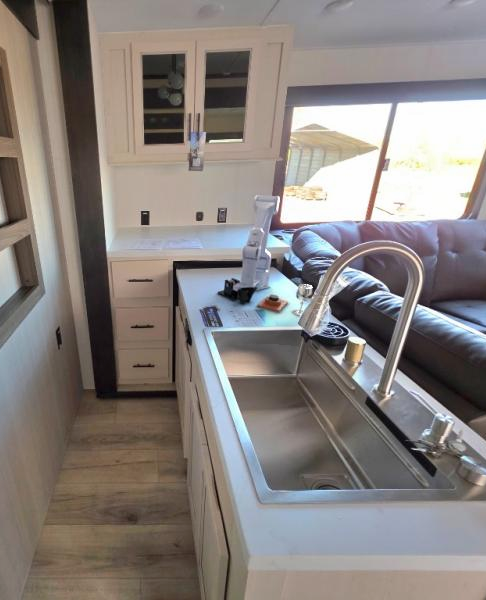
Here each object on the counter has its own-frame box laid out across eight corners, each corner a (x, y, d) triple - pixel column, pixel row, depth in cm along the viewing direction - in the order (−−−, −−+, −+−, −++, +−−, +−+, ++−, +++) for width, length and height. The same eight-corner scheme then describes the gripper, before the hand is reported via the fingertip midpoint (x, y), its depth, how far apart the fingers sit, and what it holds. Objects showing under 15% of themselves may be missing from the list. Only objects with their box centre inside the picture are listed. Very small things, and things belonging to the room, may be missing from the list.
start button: (270, 297, 138) (271, 293, 137) (279, 299, 136) (279, 296, 135) (267, 300, 135) (268, 296, 134) (276, 302, 133) (277, 298, 132)
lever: (247, 301, 140) (250, 296, 137) (243, 302, 138) (246, 298, 136) (231, 283, 146) (233, 278, 144) (226, 284, 145) (229, 280, 143)
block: (267, 298, 143) (268, 292, 142) (287, 303, 138) (288, 297, 137) (257, 307, 135) (258, 300, 134) (278, 313, 130) (279, 306, 128)
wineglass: (300, 317, 126) (307, 289, 121) (288, 312, 130) (294, 285, 125) (310, 314, 128) (316, 287, 123) (298, 309, 133) (304, 282, 128)
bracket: (244, 298, 144) (246, 282, 141) (233, 301, 140) (235, 285, 137) (228, 291, 152) (230, 275, 148) (217, 293, 148) (219, 278, 145)
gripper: (243, 279, 127) (239, 309, 133) (267, 273, 134) (263, 302, 139) (231, 274, 133) (227, 303, 138) (254, 268, 140) (250, 296, 145)
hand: (244, 302), depth 139 cm, fingers closed on lever, 3 cm apart
